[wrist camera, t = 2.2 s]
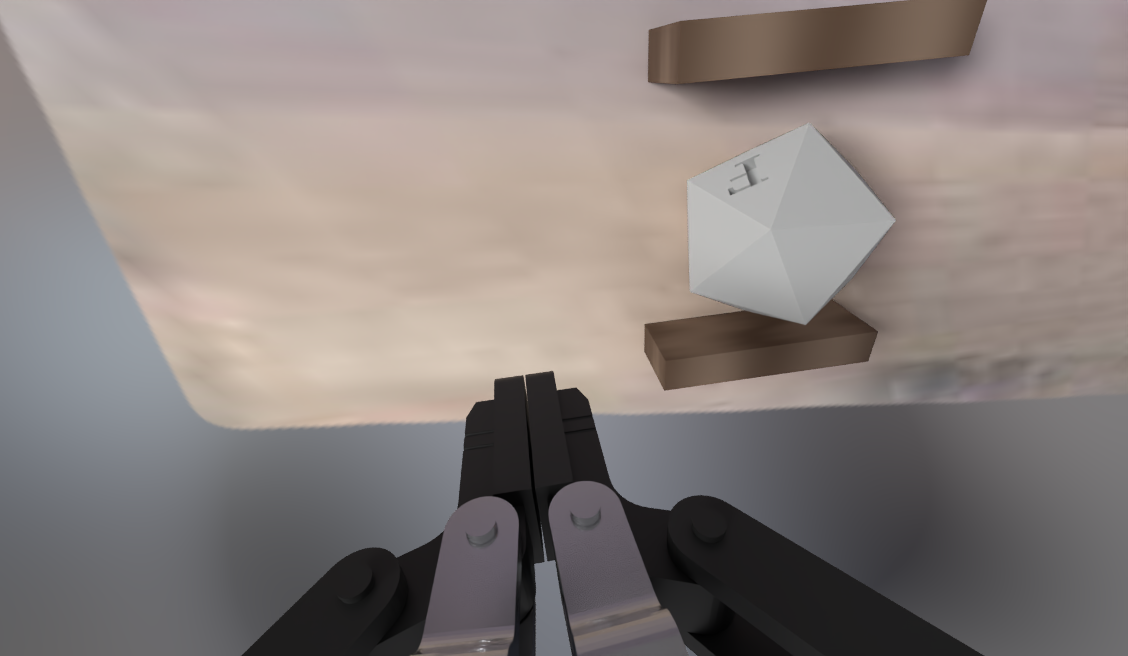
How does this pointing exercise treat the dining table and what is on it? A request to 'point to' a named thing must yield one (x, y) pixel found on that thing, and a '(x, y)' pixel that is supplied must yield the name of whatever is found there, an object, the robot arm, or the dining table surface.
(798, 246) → the die
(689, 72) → the pair of wooden rails
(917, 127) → the dining table surface
